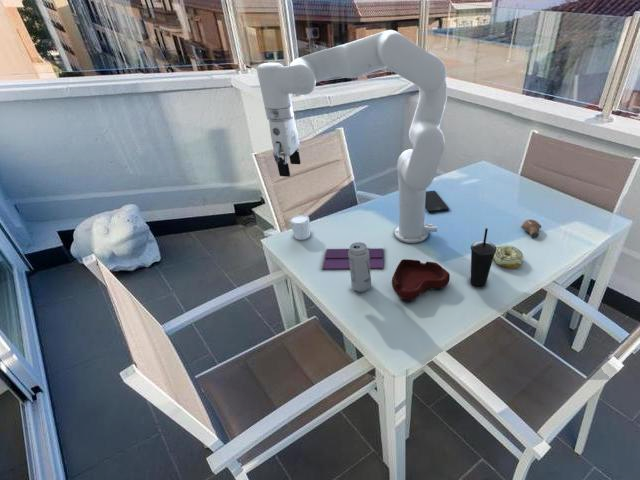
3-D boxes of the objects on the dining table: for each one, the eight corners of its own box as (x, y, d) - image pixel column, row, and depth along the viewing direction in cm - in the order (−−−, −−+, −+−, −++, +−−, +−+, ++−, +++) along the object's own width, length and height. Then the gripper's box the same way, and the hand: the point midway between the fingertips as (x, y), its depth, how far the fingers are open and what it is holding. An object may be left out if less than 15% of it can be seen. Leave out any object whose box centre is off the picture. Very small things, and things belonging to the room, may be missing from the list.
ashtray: (424, 262, 131) (424, 250, 128) (453, 288, 120) (454, 276, 117) (378, 279, 124) (377, 267, 120) (405, 308, 113) (405, 296, 110)
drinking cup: (491, 278, 125) (501, 224, 112) (487, 293, 119) (497, 238, 107) (468, 273, 127) (476, 220, 114) (463, 287, 121) (470, 232, 109)
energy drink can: (370, 293, 118) (367, 252, 109) (350, 292, 118) (346, 252, 109) (372, 281, 123) (369, 241, 114) (353, 280, 123) (349, 241, 114)
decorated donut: (495, 270, 128) (496, 261, 126) (487, 252, 137) (489, 243, 134) (525, 269, 129) (527, 260, 126) (516, 251, 137) (518, 242, 135)
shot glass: (307, 241, 141) (304, 224, 136) (289, 239, 142) (286, 222, 137) (314, 232, 146) (312, 215, 142) (297, 230, 147) (294, 213, 143)
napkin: (383, 250, 137) (383, 248, 136) (382, 268, 128) (382, 266, 128) (326, 250, 136) (326, 249, 136) (322, 269, 128) (322, 267, 127)
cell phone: (429, 213, 158) (429, 211, 158) (416, 194, 172) (416, 192, 171) (449, 210, 161) (449, 208, 160) (434, 192, 174) (434, 190, 173)
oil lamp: (515, 234, 148) (535, 241, 144) (517, 226, 145) (537, 233, 141) (526, 222, 153) (545, 229, 149) (527, 214, 150) (547, 221, 146)
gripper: (281, 121, 103) (292, 181, 114) (301, 105, 117) (310, 160, 128) (254, 120, 104) (268, 180, 115) (278, 104, 117) (288, 159, 128)
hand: (290, 169), depth 121 cm, fingers open, 9 cm apart
